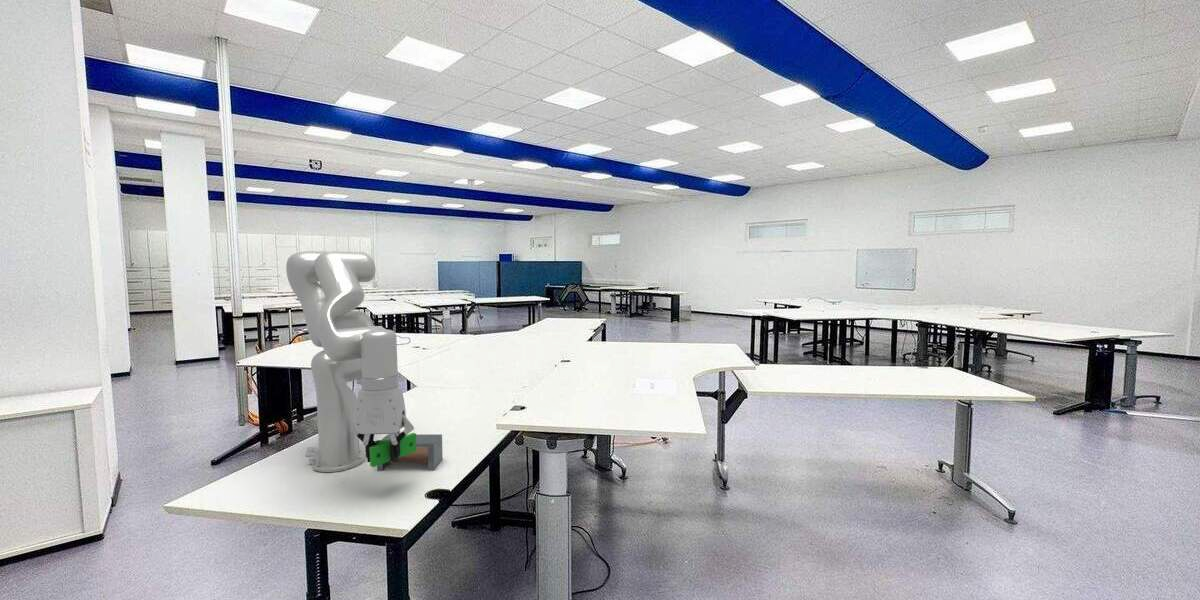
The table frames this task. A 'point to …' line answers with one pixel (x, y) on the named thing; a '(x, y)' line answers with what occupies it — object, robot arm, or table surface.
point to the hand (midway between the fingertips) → (383, 459)
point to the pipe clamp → (382, 449)
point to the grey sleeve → (422, 451)
